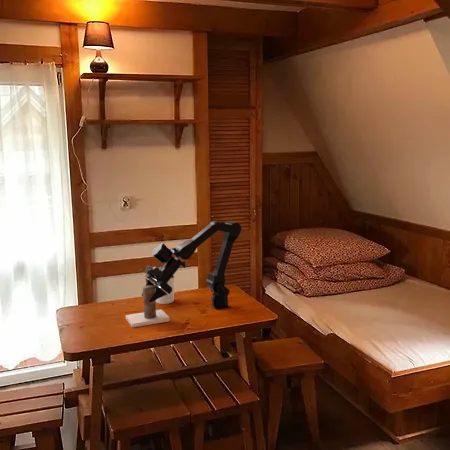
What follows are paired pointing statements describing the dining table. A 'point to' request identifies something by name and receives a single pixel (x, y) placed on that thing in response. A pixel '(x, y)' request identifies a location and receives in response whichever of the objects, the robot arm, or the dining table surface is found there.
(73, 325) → the dining table surface
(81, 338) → the dining table surface
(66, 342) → the dining table surface
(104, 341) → the dining table surface
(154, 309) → the walnut roller
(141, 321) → the stone slab
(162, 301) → the white cylinder
